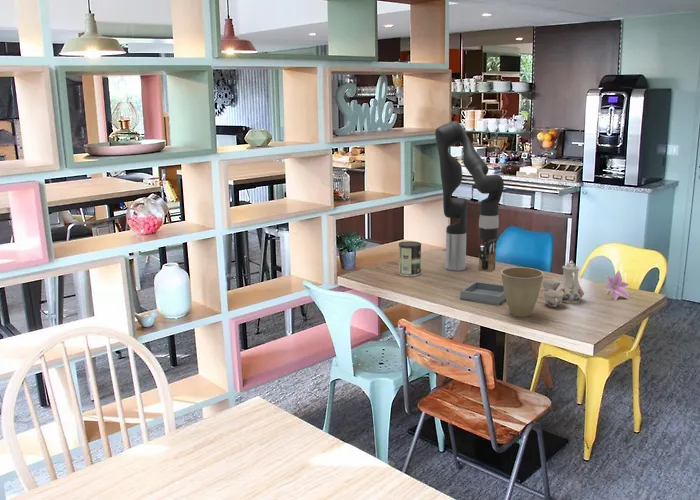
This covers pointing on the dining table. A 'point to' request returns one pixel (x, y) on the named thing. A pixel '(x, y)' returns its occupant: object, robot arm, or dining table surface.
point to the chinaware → (563, 287)
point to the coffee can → (409, 258)
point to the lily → (616, 286)
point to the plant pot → (521, 289)
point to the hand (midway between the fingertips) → (487, 267)
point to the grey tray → (483, 293)
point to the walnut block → (489, 262)
